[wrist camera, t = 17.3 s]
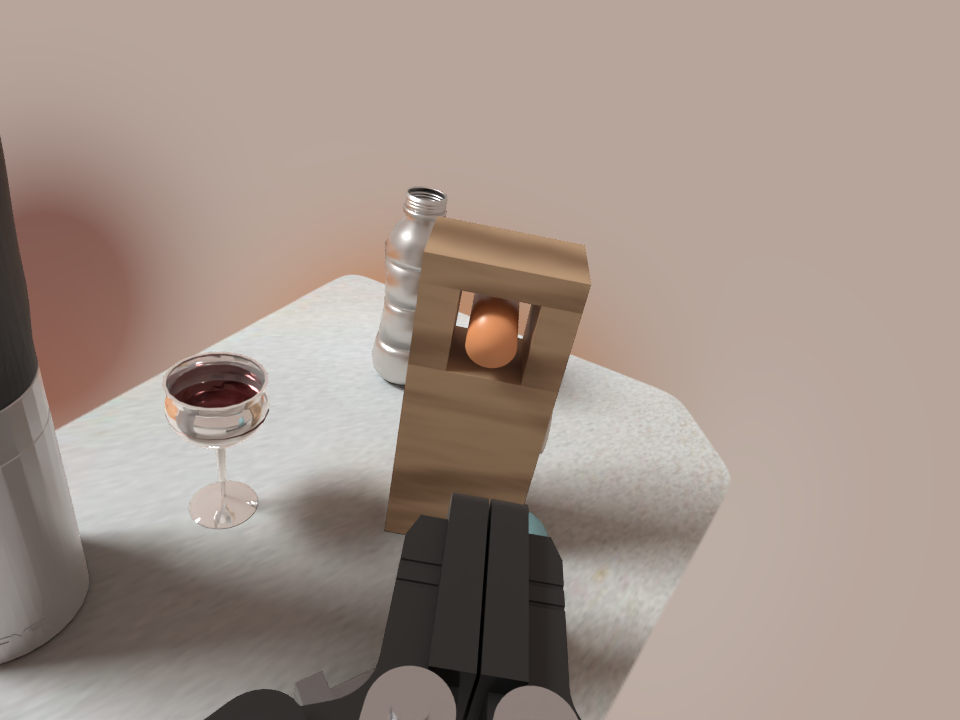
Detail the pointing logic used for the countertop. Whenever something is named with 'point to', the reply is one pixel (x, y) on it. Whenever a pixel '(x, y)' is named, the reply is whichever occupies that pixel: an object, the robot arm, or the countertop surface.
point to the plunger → (492, 331)
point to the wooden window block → (482, 369)
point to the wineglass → (217, 424)
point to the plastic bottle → (404, 280)
